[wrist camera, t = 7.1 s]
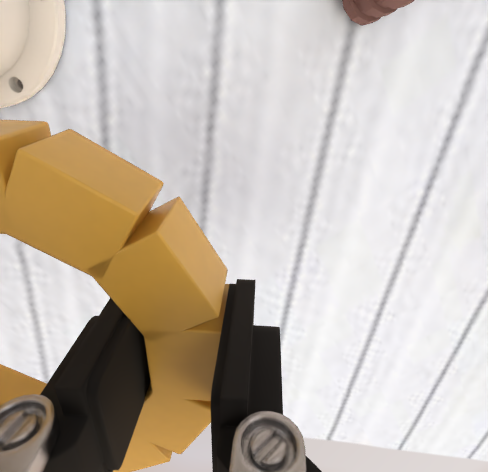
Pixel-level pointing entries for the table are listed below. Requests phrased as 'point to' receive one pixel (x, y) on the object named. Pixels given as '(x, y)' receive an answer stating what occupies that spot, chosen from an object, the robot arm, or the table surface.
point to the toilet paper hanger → (371, 9)
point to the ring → (122, 270)
